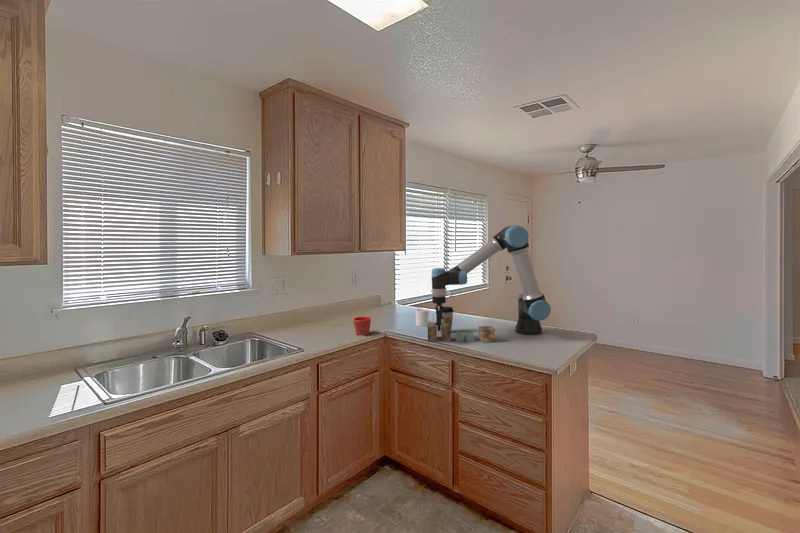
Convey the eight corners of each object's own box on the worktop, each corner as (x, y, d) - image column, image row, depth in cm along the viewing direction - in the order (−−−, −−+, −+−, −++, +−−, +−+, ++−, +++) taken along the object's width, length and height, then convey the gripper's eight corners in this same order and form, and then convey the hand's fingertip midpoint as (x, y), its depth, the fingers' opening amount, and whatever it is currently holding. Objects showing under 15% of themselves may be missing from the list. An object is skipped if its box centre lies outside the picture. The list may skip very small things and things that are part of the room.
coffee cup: (453, 334, 225) (453, 309, 224) (436, 334, 227) (436, 309, 226) (454, 330, 235) (454, 306, 234) (438, 330, 237) (438, 306, 236)
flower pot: (354, 337, 225) (354, 320, 225) (353, 332, 236) (352, 317, 235) (372, 335, 227) (372, 319, 227) (370, 331, 238) (369, 316, 237)
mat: (449, 337, 218) (449, 337, 218) (449, 342, 210) (449, 341, 210) (430, 337, 220) (430, 336, 220) (429, 341, 211) (429, 341, 211)
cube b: (463, 339, 215) (463, 332, 215) (463, 341, 211) (463, 334, 211) (456, 339, 215) (455, 332, 215) (456, 341, 212) (455, 334, 211)
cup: (417, 323, 257) (417, 308, 256) (435, 324, 253) (434, 309, 252) (414, 326, 249) (414, 310, 248) (432, 327, 245) (432, 311, 244)
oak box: (491, 338, 215) (491, 326, 214) (495, 342, 207) (495, 329, 207) (478, 338, 215) (478, 326, 214) (481, 342, 207) (481, 329, 207)
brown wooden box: (450, 337, 218) (450, 321, 217) (450, 341, 210) (450, 324, 209) (428, 337, 220) (428, 321, 219) (427, 340, 212) (427, 324, 211)
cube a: (473, 339, 214) (473, 332, 214) (473, 341, 210) (473, 334, 210) (466, 339, 215) (466, 332, 214) (466, 341, 211) (466, 334, 210)
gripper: (433, 292, 226) (434, 327, 227) (430, 299, 201) (431, 339, 203) (446, 292, 225) (447, 328, 226) (445, 299, 200) (445, 339, 202)
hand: (439, 333), depth 215 cm, fingers open, 13 cm apart
